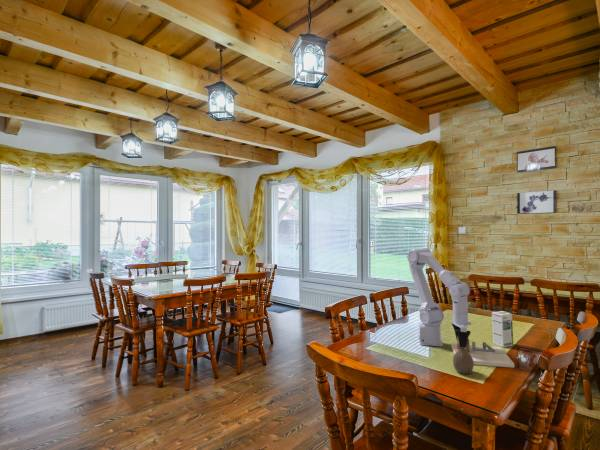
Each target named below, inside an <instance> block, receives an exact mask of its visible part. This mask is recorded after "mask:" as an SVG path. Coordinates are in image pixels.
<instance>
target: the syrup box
mask: <svg viewBox="0 0 600 450" xmlns="http://www.w3.org/2000/svg"><path fill="white" fill-rule="evenodd" d="M491 324H492V326H491V327H492V343H493V345H496V346H497V347H501V348H508V347H513V346H514V333H513V332H514V329H513V327H514V325H513V314H512V313H511V312H508V311H504V310H500V311H493V312H491Z"/></svg>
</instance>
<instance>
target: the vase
mask: <svg viewBox="0 0 600 450" xmlns="http://www.w3.org/2000/svg"><path fill="white" fill-rule="evenodd" d="M452 365H453V368H454V369H455V371H456V372H457V373H458V374H461V375H469V374H471V373H472V372H473V369H474V367H475V366H474V362H473V359H472V357H471V355H470V354H469V353H468V351H467V349H466V348H463V347H460V348H459V350H458V351H457V352H456V353H455V355H453V358H452Z"/></svg>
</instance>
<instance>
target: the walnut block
mask: <svg viewBox="0 0 600 450" xmlns="http://www.w3.org/2000/svg"><path fill="white" fill-rule="evenodd" d="M456 342H457V343H456V344H457V348H458V350H459V348H460V345H459V340H458V336H457V339H456ZM469 345H470V339H469V338H468V340H467V345H466V349H467V351H468V352H470V348H469ZM463 348H464V347H463Z"/></svg>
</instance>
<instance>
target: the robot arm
mask: <svg viewBox="0 0 600 450" xmlns="http://www.w3.org/2000/svg"><path fill="white" fill-rule="evenodd" d="M406 258H407V261H408V265H409V270H410V274H411V276H412V280H413V283H414V285H415V289H416V292H417V295H418V297H419V300H420V304H421V305H420V307H419V308H418V312H419V319H420V322H421V323H418V332H419V333H418V334H419V335H418V340H419V344H420V345H419V346H431V347H443V346H444V345H443V342H442V340H441V337H442V335H441V333H442V332H441V324H442V321H443V320H444V317H445V314H444V313H443V311H442V309H441V308H440V306H439V304H438V303H437V302H435V301H434V299H433V296H432V293H431V291H430V287H429V285H428V282H427V279H426V275H425V273H424V270H423V269H424V267H425V266H426V265H427V266H429V268H431V269H432V270H433V272H435V273H436V274H437V275H439V276H438V279H439V280H440V281H441V283H443V284H444V285H445V286H446V288H447V289H448V292H449V295H450V296H451V300H452V323H451V326H452V327H453V331H454V333H455V339H456V340H457V336H458V340H459V345H460V347H464V348H466V345H467V340H468V339H469V337H470V335H471V331H470V330H468V329H467V327H468V326H471V325H472V322H471V321H469V316H468V315H469V310H468V306H469V305H468V296H469V295H470V294H471V288H470V286H469V285H468V283H466V281H465V282H464V281H461V280H460V279H459V278H457V276H456V275H455V274H454V272H453V271H452V270H448V269H445V268H444V267H443V265H442V264H441V263H440V262H439V261H438V260H437V259H436V257H434V253H433V252H432V251H431V250H430V249H429V248H428V247H427V248H426V247H424V248H415V249H414V248H411V249H409V251H408V253H407V256H406Z"/></svg>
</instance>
